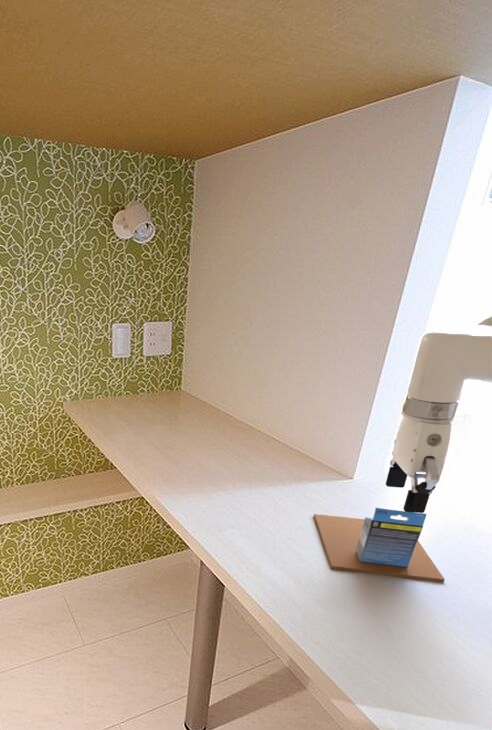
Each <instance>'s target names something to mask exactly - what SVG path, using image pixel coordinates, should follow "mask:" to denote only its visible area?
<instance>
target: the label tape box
mask: <svg viewBox="0 0 492 730" xmlns="http://www.w3.org/2000/svg"><path fill="white" fill-rule="evenodd" d="M427 515H428V514H427V513H425V512H424V513H415V512H405V511H404V510H397V509H388V508H381V507H375V508H374V513H373V517H368V516H365V518H364V519H365V520H364V523H363V527H362V530H361V534H360V537H359V540H358V544H357V548H356V553H357V556H358V558H359V560H360V562H366V563H375V564H385V565H392V566H400V567H408V565H409V563H410V560H411V557H412V555H413V552H414V549H415V547H416V544H417V541H419V539H420V536H421V535H422V534H421V533H422V531H423V528H424V524H425V520H426V517H427ZM398 516H401V517H402V518H406V519H404V520H403V519H396V518H391V517H398Z"/></svg>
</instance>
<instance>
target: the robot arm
mask: <svg viewBox="0 0 492 730" xmlns="http://www.w3.org/2000/svg"><path fill="white" fill-rule="evenodd" d="M466 380H474V381H481V382H485V383H492V315H490V316H488V317H485V318H483V319H482V320H480V321H478V322H477V323H475V324H474V325H471V326H470V327H468V328H467V329H466V330H462V329H448V328H442V329H441V328H439V329H431V330H427V331H426V332H424V333H422V336H421V337H420V338H419V341H418V345H417V349H416V353H415V357H414V361H413V365H412V369H411V373H410V377H409V381H408V385H407V389H406V392H405V397H404V400H403V405H402V409H401V411H400V413H401V415H402V419H401V422H400V424H399V427H398V430H397V434H396V437H395V439H394V444H393V449H392V452H391V454H392V459H391V460H390V463H389V469H388V473H387V475H386V476H387V477H386V481H385V486H386V487H389V488H402V489H403V488H405V486H406V483H407V478H408V477H409V478H410V487H411V489H408V490H407V494H406V499H405V502H404V504H403V509H402V510H403V511H405V512H414V513H424V514H425V511H426V508H427V505H428V502H429V499H430V496H431V495H432V494H433V491H434V490H435V489H436V485H438V483H439V482H440V479H441V476H442V474H443V470H444V465H445V462H446V458H447V455H448V450H449V445H450V439H451V432H452V422H453V421H454V419H455V416H456V415H455V414H456V412H457V408H458V406H459V403H460V400H461V396H462V393H463V390H464V387H465V384H466ZM418 480H424V481H422V482H420V483H419V481H418Z"/></svg>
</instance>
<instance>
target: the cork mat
mask: <svg viewBox="0 0 492 730" xmlns="http://www.w3.org/2000/svg"><path fill="white" fill-rule="evenodd" d="M313 518H314V521H315V524H316V528H317V530H318V533H319V536H320V539H321V542H322V545H323V548H324V551H325V555H326V557H327V560H328V563H329V566H330V568H331V569H334V570H341V571H348V572H349V571H350V572H359V573H366V574H375V575H383V576H391V577H400V578H407V579H417V580H423V581H433V582H439V583H444V582H445V580H446V579H445V577H444V576H443V575H442V574H441V572H440V570H439V569H438V567H437V566H436V564H435V563H434V561H433V560H432V559H431V557H430V556H429V554H428V553H427V552H426V550H425V549H424V547H423V546H422V544H421V543H420V541H419V540H418V541H417V544H416V547H415V549H414V552H413V555H412V557H411V560H410V563H409V565H408V567H400V566H392V565H385V564H375V563H366V562H360V560H359V558H358V556H357V553H356V548H357V544H358V540H359V537H360V534H361V530H362V527H363V523H364V520H365V518H356V517H346V516H336V515H328V514H327V515H326V514H316V513H314V514H313Z"/></svg>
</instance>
